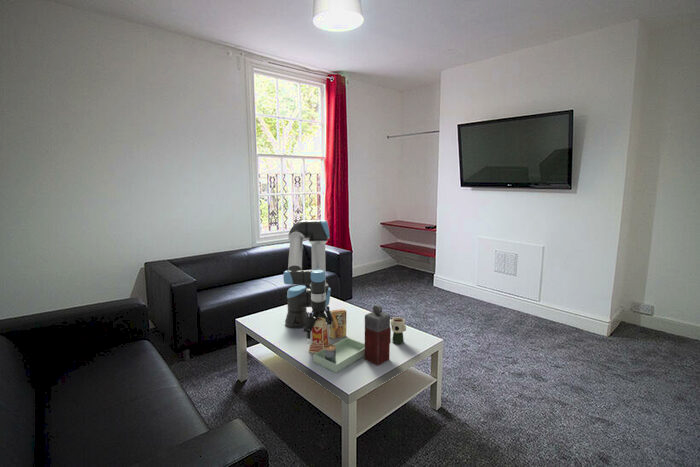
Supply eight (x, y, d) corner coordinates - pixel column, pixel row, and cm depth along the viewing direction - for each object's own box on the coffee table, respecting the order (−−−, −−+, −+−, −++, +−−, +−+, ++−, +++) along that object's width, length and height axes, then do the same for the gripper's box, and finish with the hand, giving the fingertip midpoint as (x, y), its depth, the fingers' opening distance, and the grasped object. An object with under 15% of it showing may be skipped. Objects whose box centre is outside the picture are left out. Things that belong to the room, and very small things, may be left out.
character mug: (386, 340, 192) (386, 318, 190) (395, 337, 196) (395, 315, 194) (400, 347, 183) (401, 324, 181) (409, 343, 188) (410, 321, 186)
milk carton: (325, 354, 176) (324, 317, 174) (308, 352, 178) (307, 315, 175) (329, 346, 185) (329, 310, 182) (313, 344, 187) (312, 309, 184)
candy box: (343, 333, 201) (343, 308, 199) (346, 336, 197) (346, 310, 195) (329, 336, 197) (329, 310, 195) (332, 339, 193) (332, 313, 191)
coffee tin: (322, 363, 166) (322, 347, 165) (330, 358, 171) (330, 343, 169) (330, 367, 163) (330, 351, 162) (338, 362, 167) (338, 346, 166)
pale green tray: (313, 362, 169) (313, 354, 168) (347, 344, 187) (347, 337, 187) (336, 373, 159) (336, 364, 158) (369, 352, 178) (369, 345, 177)
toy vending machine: (392, 357, 173) (393, 304, 169) (377, 365, 165) (378, 310, 161) (379, 351, 179) (379, 299, 175) (364, 359, 171) (364, 305, 167)
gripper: (305, 308, 166) (306, 350, 169) (339, 295, 185) (339, 334, 188) (295, 304, 171) (296, 345, 174) (329, 293, 189) (330, 330, 192)
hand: (319, 339), depth 181 cm, fingers open, 12 cm apart
